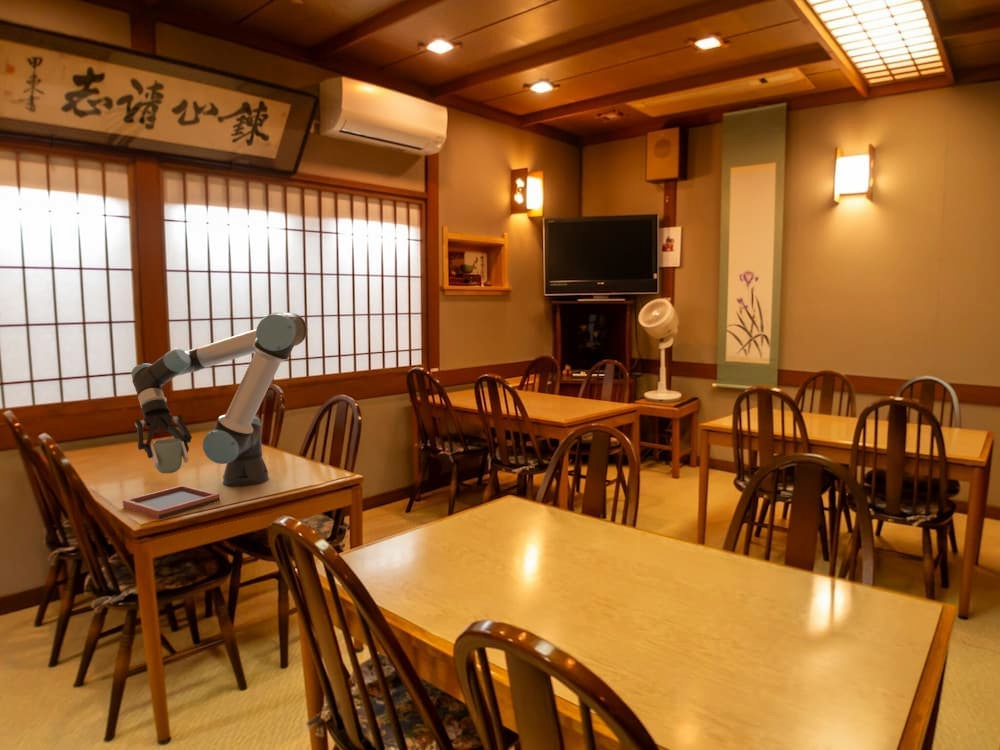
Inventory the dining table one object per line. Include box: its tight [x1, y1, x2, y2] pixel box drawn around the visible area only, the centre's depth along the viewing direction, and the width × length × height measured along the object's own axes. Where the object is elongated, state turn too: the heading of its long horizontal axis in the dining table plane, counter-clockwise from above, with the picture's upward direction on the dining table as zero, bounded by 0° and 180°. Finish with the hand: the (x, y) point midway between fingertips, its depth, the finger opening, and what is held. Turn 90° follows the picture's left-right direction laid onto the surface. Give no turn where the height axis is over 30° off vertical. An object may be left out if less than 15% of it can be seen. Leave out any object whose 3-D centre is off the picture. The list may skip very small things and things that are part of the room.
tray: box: [122, 484, 221, 520], centre depth 210 cm, size 20×20×2 cm
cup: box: [152, 437, 183, 475], centre depth 208 cm, size 8×8×10 cm
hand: (171, 462), depth 206 cm, fingers closed on cup, 8 cm apart
